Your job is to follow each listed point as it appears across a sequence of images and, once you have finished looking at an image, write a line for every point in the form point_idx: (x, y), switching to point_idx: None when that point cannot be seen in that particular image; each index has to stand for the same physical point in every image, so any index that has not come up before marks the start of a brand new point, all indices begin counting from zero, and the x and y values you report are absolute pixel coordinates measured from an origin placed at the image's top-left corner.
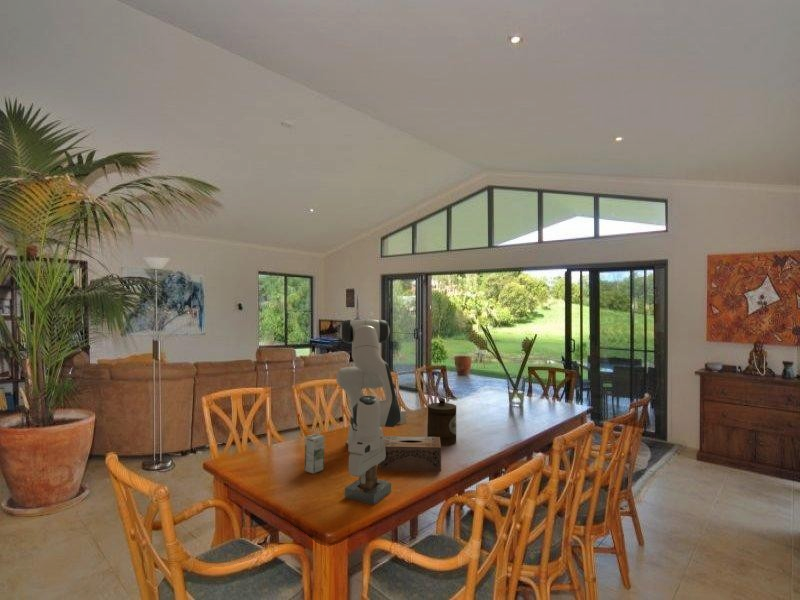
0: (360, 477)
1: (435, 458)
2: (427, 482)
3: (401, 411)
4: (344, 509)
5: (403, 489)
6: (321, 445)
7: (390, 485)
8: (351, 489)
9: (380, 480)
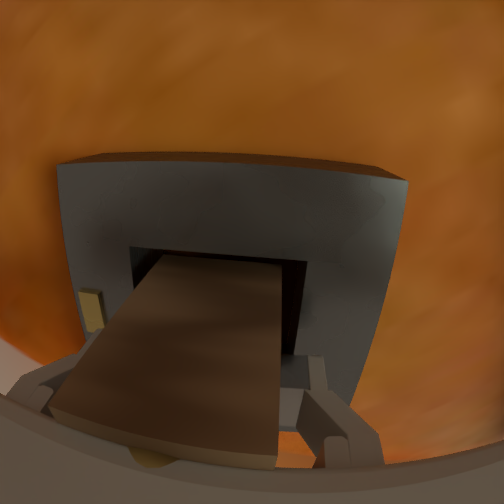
0: (62, 362)
1: None
2: (459, 442)
3: None
4: (14, 244)
5: (377, 416)
6: None
7: None
8: (64, 236)
9: (347, 375)
